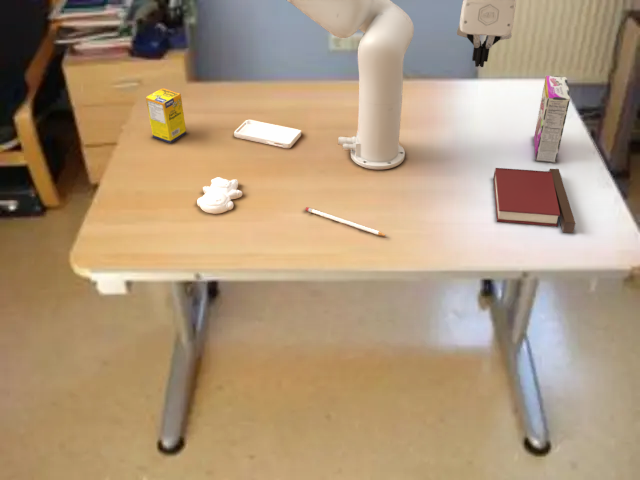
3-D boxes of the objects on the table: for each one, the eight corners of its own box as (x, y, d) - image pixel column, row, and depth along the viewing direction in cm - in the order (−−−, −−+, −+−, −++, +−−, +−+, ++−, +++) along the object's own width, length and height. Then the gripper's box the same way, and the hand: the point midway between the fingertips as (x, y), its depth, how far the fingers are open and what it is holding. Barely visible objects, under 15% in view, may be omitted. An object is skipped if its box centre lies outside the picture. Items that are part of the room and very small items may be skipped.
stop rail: (562, 232, 142) (565, 222, 140) (547, 177, 158) (549, 168, 156) (572, 232, 142) (575, 222, 140) (556, 178, 157) (558, 168, 156)
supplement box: (187, 133, 174) (181, 93, 167) (170, 144, 170) (164, 103, 163) (168, 127, 177) (162, 87, 170) (152, 137, 173) (145, 97, 166)
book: (497, 221, 145) (499, 209, 143) (493, 179, 157) (495, 167, 155) (557, 226, 144) (560, 214, 142) (548, 183, 156) (551, 171, 154)
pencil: (307, 209, 148) (307, 206, 148) (387, 236, 141) (387, 233, 141) (305, 211, 148) (305, 208, 147) (385, 238, 140) (385, 235, 140)
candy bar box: (532, 137, 172) (545, 74, 161) (553, 139, 171) (567, 76, 161) (533, 161, 163) (547, 96, 153) (556, 163, 162) (571, 98, 152)
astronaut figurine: (249, 186, 156) (248, 175, 154) (226, 217, 147) (225, 205, 145) (213, 179, 158) (212, 168, 156) (188, 209, 149) (187, 197, 147)
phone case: (302, 134, 173) (247, 123, 178) (301, 129, 172) (247, 118, 177) (289, 149, 168) (233, 137, 173) (289, 144, 167) (233, 132, 172)
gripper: (453, -23, 131) (442, 69, 143) (536, -19, 130) (517, 74, 141) (453, -36, 137) (442, 54, 148) (532, -32, 136) (514, 59, 147)
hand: (479, 64), depth 145 cm, fingers closed
